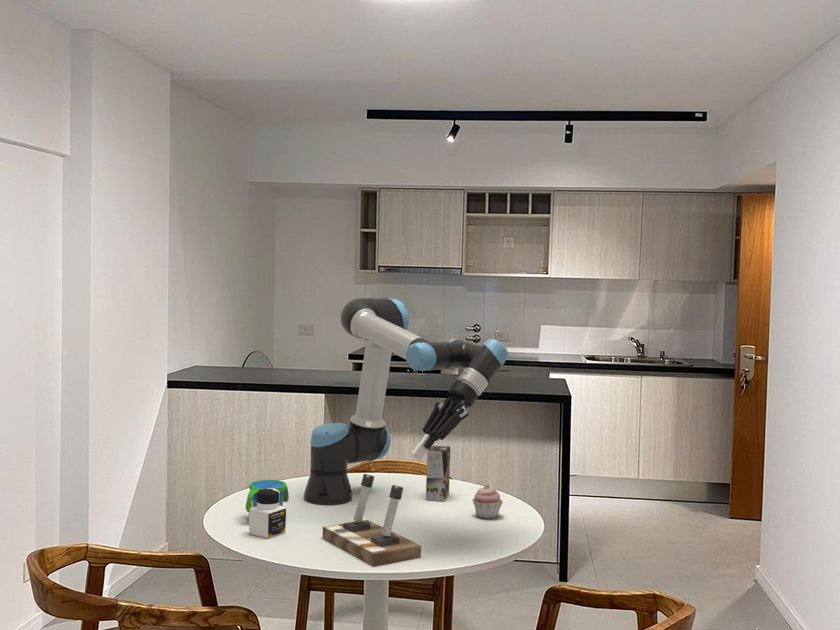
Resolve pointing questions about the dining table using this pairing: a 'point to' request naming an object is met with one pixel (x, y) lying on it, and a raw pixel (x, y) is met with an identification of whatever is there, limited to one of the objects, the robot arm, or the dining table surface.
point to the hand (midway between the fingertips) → (415, 456)
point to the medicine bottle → (267, 515)
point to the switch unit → (371, 542)
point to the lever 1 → (363, 496)
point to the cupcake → (487, 502)
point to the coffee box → (438, 473)
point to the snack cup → (264, 484)
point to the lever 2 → (392, 509)
